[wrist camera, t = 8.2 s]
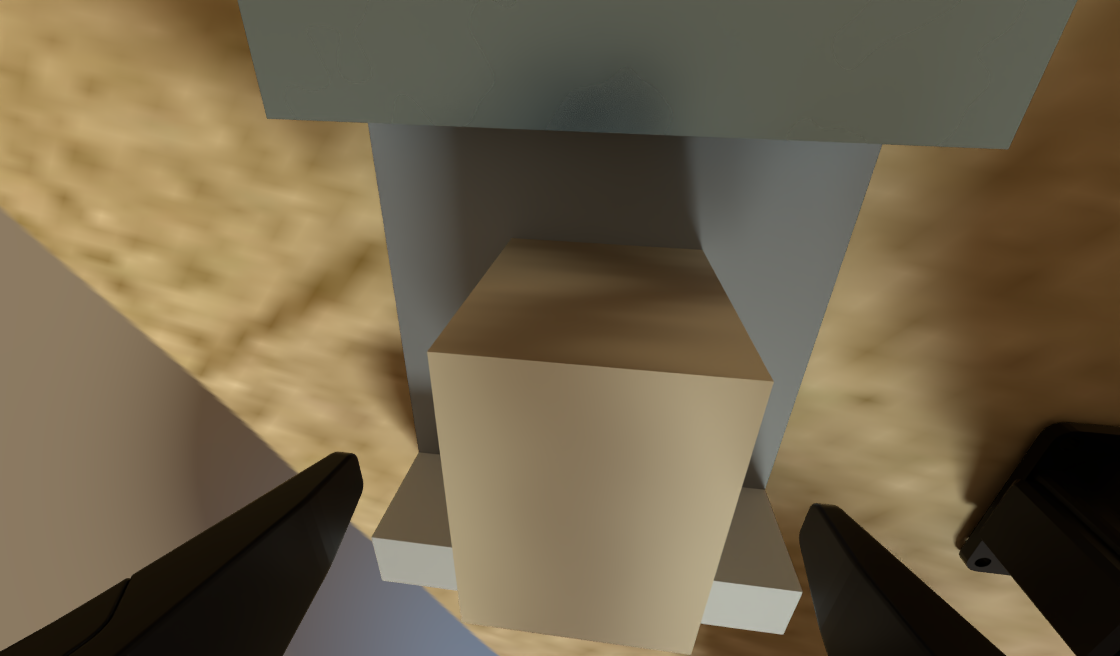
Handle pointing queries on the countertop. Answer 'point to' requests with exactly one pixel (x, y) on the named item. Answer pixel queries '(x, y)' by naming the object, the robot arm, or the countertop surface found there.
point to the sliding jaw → (663, 65)
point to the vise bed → (622, 219)
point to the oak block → (594, 439)
